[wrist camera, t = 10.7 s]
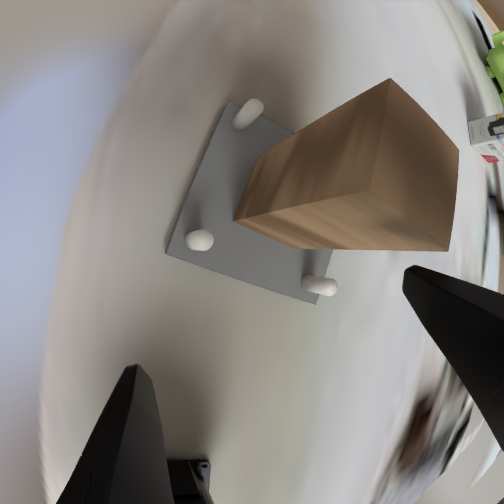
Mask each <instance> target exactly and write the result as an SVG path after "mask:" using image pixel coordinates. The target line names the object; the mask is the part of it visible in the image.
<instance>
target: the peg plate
mask: <svg viewBox="0 0 504 504" xmlns="http://www.w3.org/2000/svg"><path fill="white" fill-rule="evenodd" d="M263 110H264V106H263V103H262V102H261V101H260V100H258V99H254V98H253V99H250V100H248V101H247V103H246V104H245V105H244V106H243V107H242V106H240V105H238V104H236V103H233V102H231V101H229V102H228V103H227V105H226V106H225V108H224V111H223V113H222V115H221V117H220V119H219V121H218V123H217V126H216V128H215V130H214V132H213V134H212V137H211V139H210V141H209V143H208V146H207V148H206V150H205V153H204V155H203V157H202V160H201V162H200V164H199V167H198V169H197V172H196V174H195V176H194V179H193V181H192V184H191V186H190V189H189V191H188V194H187V196H186V199H185V201H184V204H183V207H182V209H181V212H180V214H179V217H178V220H177V222H176V225H175V228H174V231H173V233H172V236H171V239H170V242H169V244H168V247H167V250H166V253H165V254H168V255H171V256H173V257H176V258H179V259H182V260H185V261H187V262H190V263H193V264H196V265H199V266H201V267H204V268H207V269H210V270H213V271H216V272H219V273H222V274H224V275H227V276H230V277H233V278H236V279H239V280H242V281H245V282H248V283H251V284H254V285H257V286H260V287H263V288H266V289H269V290H272V291H275V292H278V293H281V294H284V295H287V296H290V297H293V298H296V299H299V300H302V301H306V302H309V303H312V304H315V305H316V303H317V300H318V296H319V294H322V295H326V296H332V295H334V294H335V293H336V291H337V282H336V281H335V280H334V279H330V278H324V277H325V274H326V271H327V268H328V264H329V261H330V258H331V254H332V251H333V249H296V248H291V247H288V246H286V245H284V244H282V243H279V242H277V241H275V240H273V239H270V238H268V237H266V236H264V235H262V234H259V233H257V232H255V231H252V230H250V229H248V228H246V227H243V226H241V225H239V224H237V223H234V222H232V221H233V219H234V216H235V214H236V211H237V208H238V206H239V203H240V201H241V198H242V196H243V193H244V191H245V188H246V185H247V183H248V180H249V178H250V175H251V173H252V170H253V168H254V165H255V163H256V160H257V159H258V158H259V157H260V156H262V155H263V154H265V153H266V152H268V151H269V150H271V149H272V148H274V147H275V146H277V145H278V144H280V143H281V142H283V141H285V140H286V139H288V138H289V137H291V136H292V135H294V133H292V132H290V131H289V130H287V129H285V128H283V127H281V126H279V125H277V124H276V123H274V122H272V121H270V120H268V119H266V118H264V117H262V116H260V114H261V113H262V112H263Z"/></svg>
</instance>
